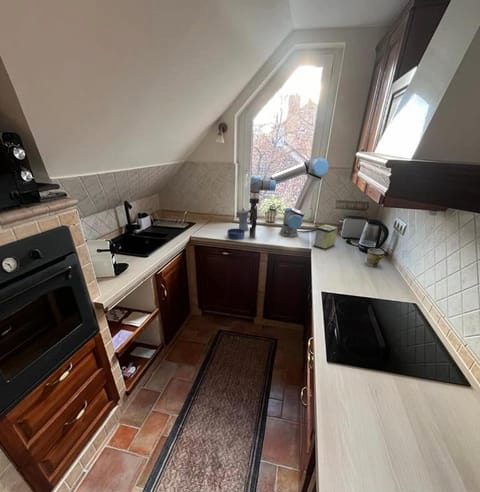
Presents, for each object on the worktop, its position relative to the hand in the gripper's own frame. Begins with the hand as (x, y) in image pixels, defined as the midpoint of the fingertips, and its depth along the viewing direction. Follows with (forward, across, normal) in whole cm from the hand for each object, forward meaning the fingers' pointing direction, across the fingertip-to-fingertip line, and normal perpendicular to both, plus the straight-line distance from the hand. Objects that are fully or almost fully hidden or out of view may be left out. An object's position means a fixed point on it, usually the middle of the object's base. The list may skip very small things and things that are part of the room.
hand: (252, 225), depth 210 cm
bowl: (+11, -2, -14) cm, 18 cm away
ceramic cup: (+11, +60, +74) cm, 96 cm away
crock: (+11, 0, 0) cm, 11 cm away
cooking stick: (+11, 0, 0) cm, 11 cm away
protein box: (+11, +22, +55) cm, 60 cm away
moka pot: (+12, -22, -4) cm, 25 cm away
